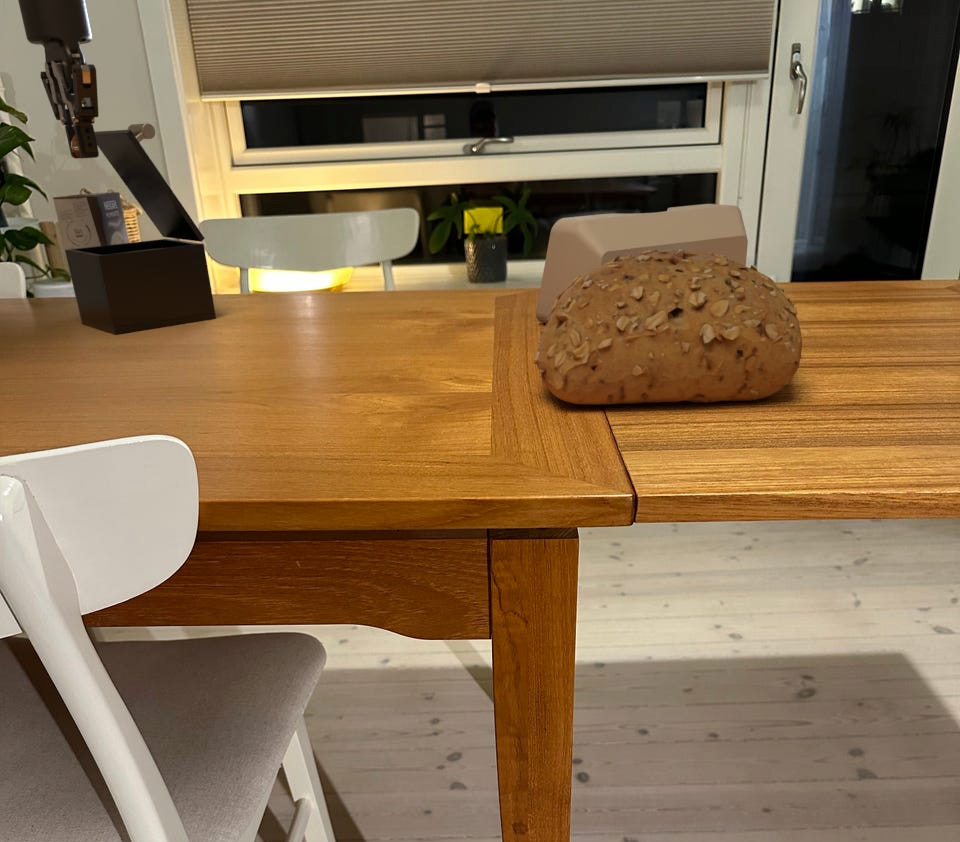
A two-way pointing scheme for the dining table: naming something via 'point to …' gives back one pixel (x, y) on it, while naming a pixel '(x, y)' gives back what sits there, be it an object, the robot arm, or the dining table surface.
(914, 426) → the dining table surface
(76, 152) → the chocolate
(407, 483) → the dining table surface
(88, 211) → the coffee box
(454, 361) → the dining table surface
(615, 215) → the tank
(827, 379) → the dining table surface
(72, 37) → the robot arm
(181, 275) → the open black box
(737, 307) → the bread
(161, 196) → the lid
